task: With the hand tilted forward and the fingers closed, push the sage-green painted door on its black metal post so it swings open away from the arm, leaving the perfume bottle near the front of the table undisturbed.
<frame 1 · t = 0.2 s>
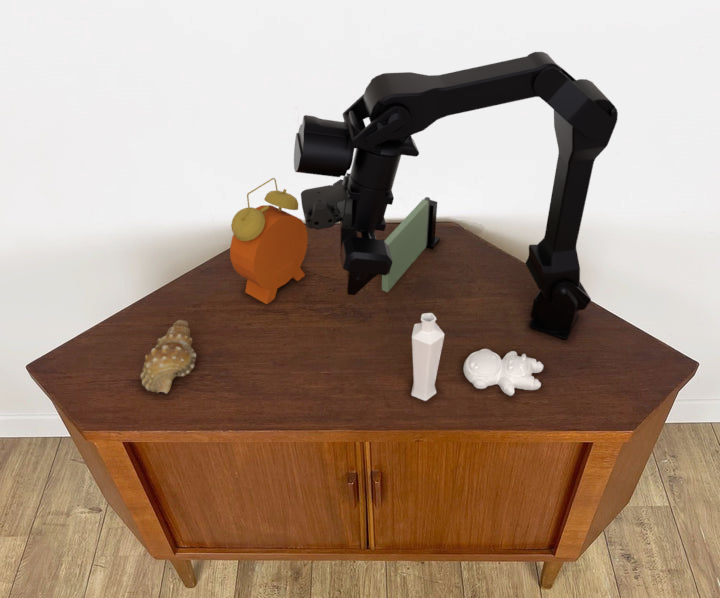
hand: (347, 274, 97), 15 cm above the table, tool pointing down, fingers open, 9 cm apart
seashell: (173, 368, 106), on the table
door: (402, 242, 118), point 6 cm above the table, hinge at 0.0°
alarm clock: (275, 284, 120), on the table
astronaut figurine: (503, 375, 103), on the table
perfume bottle: (424, 391, 101), on the table
door post: (424, 249, 126), on the table
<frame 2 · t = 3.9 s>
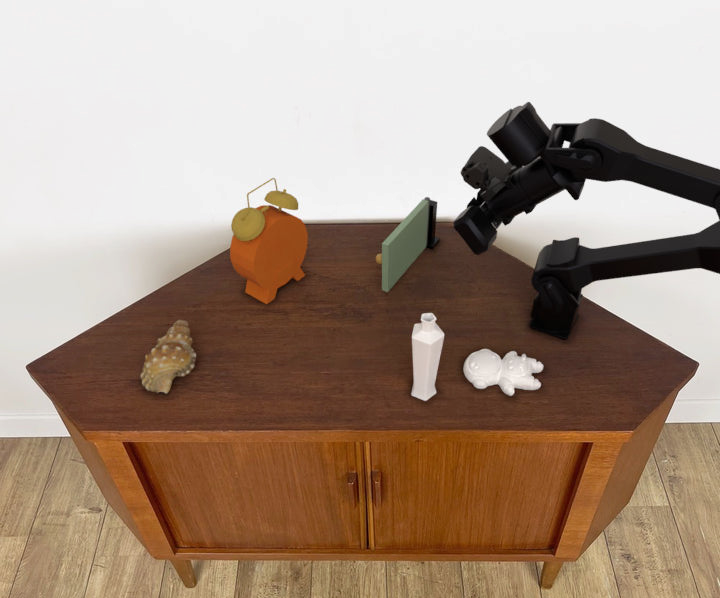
hand: (455, 228, 108), 13 cm above the table, tool tilted 45°, fingers closed
nothing on the table moved.
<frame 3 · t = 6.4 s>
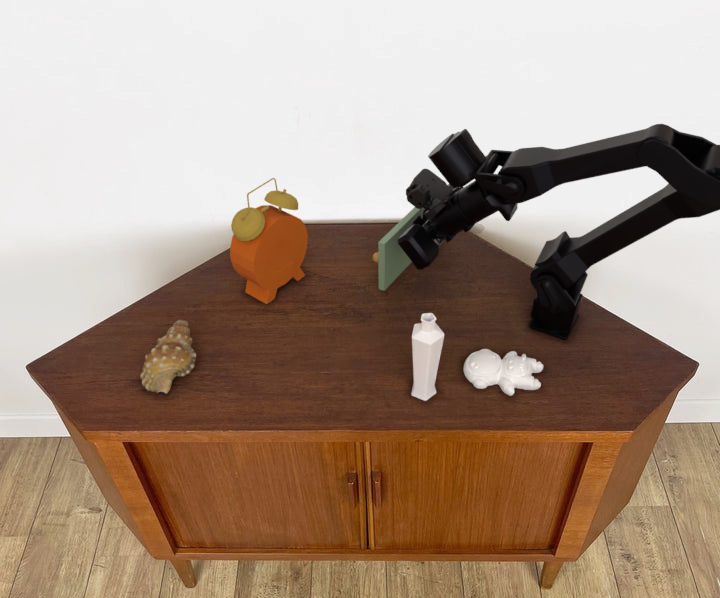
hand: (405, 242, 115), 7 cm above the table, tool tilted 45°, fingers closed, pressing on door
door: (400, 241, 118), point 6 cm above the table, hinge at 2.6°, touching gripper
everything else where it was.
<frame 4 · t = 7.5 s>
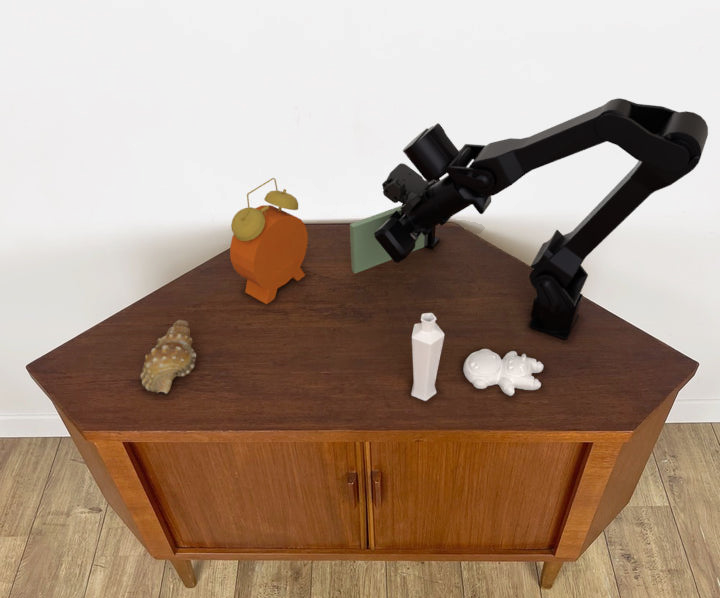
hand: (385, 237, 117), 7 cm above the table, tool tilted 45°, fingers closed
door: (388, 232, 120), point 6 cm above the table, hinge at 29.3°, touching gripper
everything else where it was.
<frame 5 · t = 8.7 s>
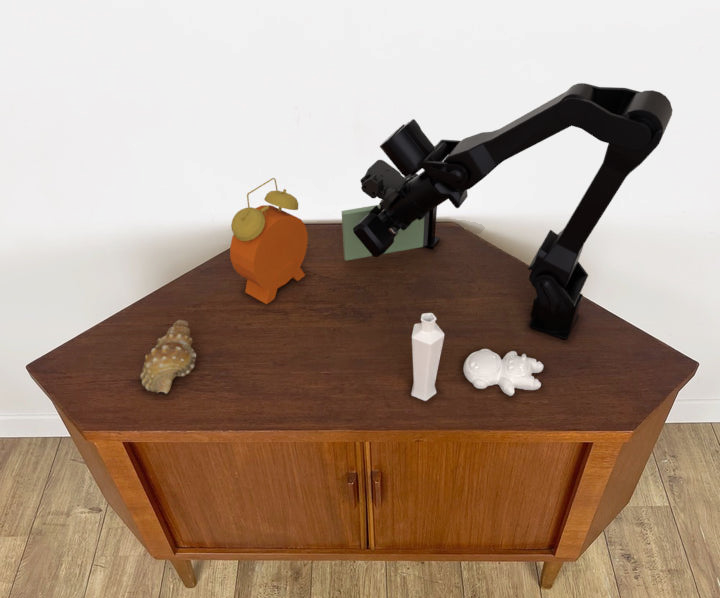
hand: (365, 233, 119), 7 cm above the table, tool tilted 45°, fingers closed
door: (384, 226, 121), point 6 cm above the table, hinge at 45.1°, touching gripper
everything else where it was.
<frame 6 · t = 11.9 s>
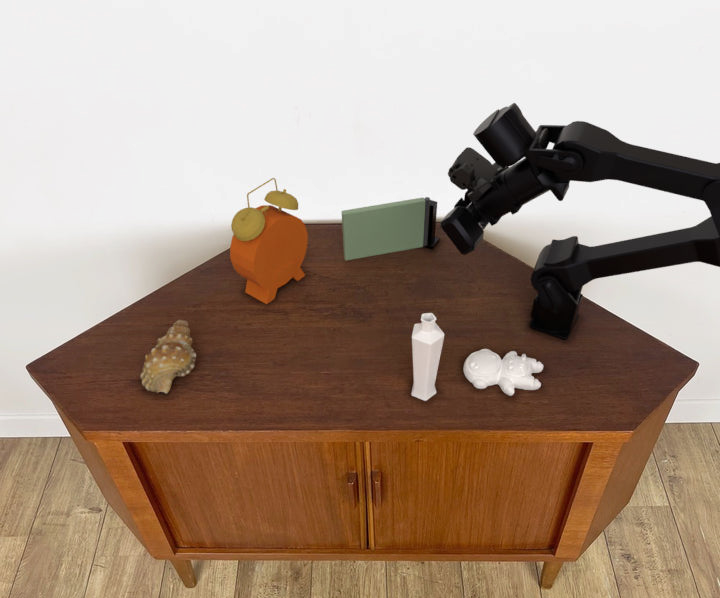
hand: (444, 228, 109), 13 cm above the table, tool tilted 45°, fingers closed
door: (384, 226, 121), point 6 cm above the table, hinge at 45.2°
everything else where it was.
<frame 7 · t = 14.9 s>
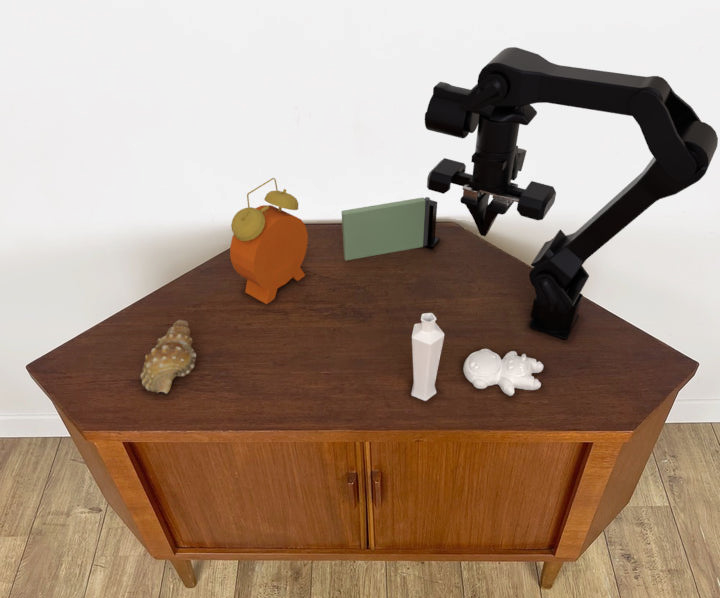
hand: (484, 234, 107), 13 cm above the table, tool pointing down, fingers closed
nothing on the table moved.
at the end: door at +45° (first picture: +0°); perfume bottle moved 0.2 cm from its start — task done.
